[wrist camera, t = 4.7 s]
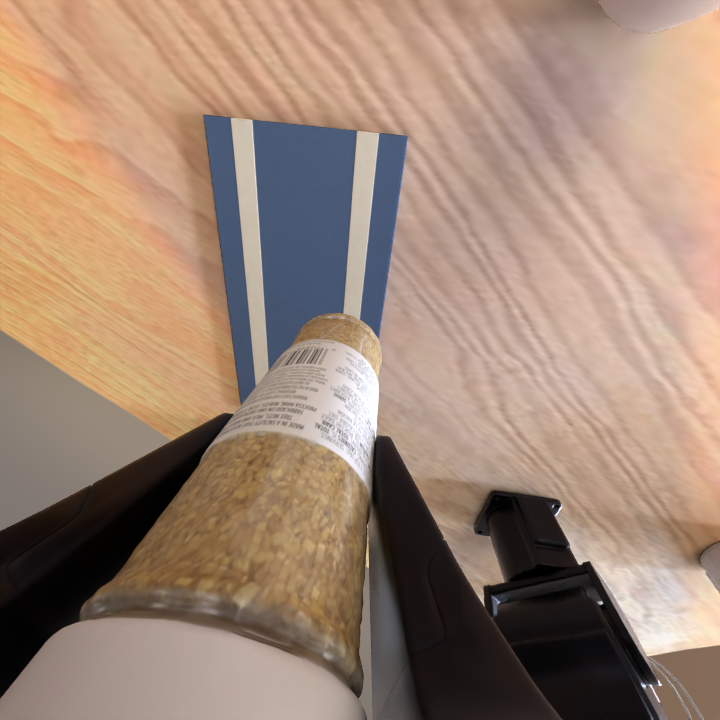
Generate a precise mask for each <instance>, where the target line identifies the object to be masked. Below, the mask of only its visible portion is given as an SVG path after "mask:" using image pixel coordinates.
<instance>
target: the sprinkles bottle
mask: <svg viewBox="0 0 720 720" xmlns="http://www.w3.org/2000/svg"><path fill="white" fill-rule="evenodd" d="M381 363H382V353H381V346H380V343H379V340H378V338H377V336H376V335H375V333H374V332H373V330H372V329H371V328H370V327H369V326H368V325H366V324H365V323H364V322H363V321H361V320H359V319H357V318H355V317H353V316H349V315H347V314H342V313H328V314H324V315H322V316H317V317H315V318H313V319H311V320H310V321H309V322H307V323H306V324H305V325H304V326H303V327H302V328H301V329H300V331H299V333H298V334H297V336H296V337H295V340H294V342H293V344H292V345H291V347H290V348H289V349H287V350H286V351H285V352H284V353H283V354H282V355H281V356H280V357H279V358H278V360H277V361H276V362H275V363H274V365H273V366H272V367H271V368H270V370H269V371H268V372H267V374H266V375H265V376H264V377H263V379H262V380H261V381H260V382H259V384H258V385H257V386H256V387H255V389H254V390H253V391H252V392H251V394H250V395H249V396H248V397H247V399H246V400H245V401H244V402H243V404H242V405H241V406H240V408H239V409H238V410H237V411H236V413H235V414H234V415H233V417H232V418H231V419H230V420H229V422H228V423H227V424H226V426H225V427H224V428H223V429H222V431H221V432H220V433H219V435H218V436H217V437H216V438H215V440H214V441H213V442H212V443H211V445H210V446H209V447H208V449H207V450H206V451H205V453H204V454H203V456H202V458H201V460H200V464H199V466H198V467H197V468H196V470H195V471H194V472H193V473H192V475H191V476H190V478H189V479H188V480H187V481H186V482H185V484H184V485H183V486H182V488H181V489H180V491H179V492H178V494H177V495H176V496H175V498H174V499H173V500H172V502H171V503H170V504H169V505H168V507H167V508H166V509H165V511H164V512H163V513H162V514H161V516H160V517H159V518H158V519H157V521H156V523H155V524H154V526H153V527H152V528H151V529H150V530H149V532H148V533H147V535H146V536H145V537H144V539H143V540H142V541H141V542H140V543H139V545H138V546H137V547H136V549H135V550H134V551H133V553H132V555H131V557H130V558H129V560H128V561H127V562H126V564H125V565H124V567H123V568H122V569H121V570H120V571H119V572H118V574H117V575H116V576H115V577H114V579H113V580H112V581H110V582H109V583H107V584H105V585H104V586H102V587H101V588H100V589H99V590H98V591H97V592H96V593H95V594H94V595H93V597H91V598H90V599H89V600H87V601H86V602H85V603H84V605H83V606H82V608H81V611H80V619H79V622H77V623H74V624H72V625H69V626H67V627H64V628H62V629H61V630H59V631H58V632H57V633H55V634H54V635H53V636H52V637H51V638H49V639H48V640H47V641H46V643H45V644H44V645H43V646H42V648H41V649H40V650H39V651H38V653H37V654H36V655H35V656H34V658H33V659H32V660H31V661H30V663H29V664H28V665H27V666H26V668H25V669H24V670H23V671H22V672H21V674H20V675H19V676H18V677H17V679H16V680H15V681H14V682H13V684H12V685H11V686H10V687H9V689H8V690H7V691H6V692H5V694H4V695H3V696H2V697H1V699H0V720H367V717H366V713H365V711H364V709H363V707H362V705H361V703H360V701H359V699H358V698H359V697H360V695H361V693H362V688H363V678H364V674H363V670H362V665H361V660H360V656H359V647H360V624H361V621H362V608H363V585H364V579H365V565H366V548H367V524H368V521H369V518H370V515H371V506H372V492H373V474H374V457H375V441H376V425H377V412H378V398H379V387H378V376H379V370H380V367H381Z"/></svg>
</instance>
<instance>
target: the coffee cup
mask: <svg viewBox="0 0 720 720" xmlns="http://www.w3.org/2000/svg"><path fill="white" fill-rule="evenodd" d="M700 563H701V565H702V566H703V568H704V569H705V570H706V575H707V576H708V578H709V579H710V580H711V582H712V583H713V585H714V586H715V587H716V589H717V590H718V591H719V593H720V542H718V543H716V544H714V545H712V546H710V547H709V548H708V549H706V550H705V551H704V552H703V554H702V555H701V557H700Z"/></svg>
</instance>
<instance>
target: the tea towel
mask: <svg viewBox="0 0 720 720" xmlns="http://www.w3.org/2000/svg"><path fill="white" fill-rule="evenodd" d="M204 123H205V130H206V138H207V146H208V154H209V161H210V169H211V177H212V185H213V192H214V200H215V208H216V216H217V223H218V231H219V239H220V247H221V254H222V262H223V270H224V278H225V285H226V293H227V301H228V309H229V316H230V324H231V332H232V340H233V347H234V355H235V363H236V371H237V378H238V386H239V394H240V402H241V405H242V404H243V402H244V401H245V400H246V399H247V397H248V396H249V395H250V394H251V392H252V391H253V390H254V389H255V387H256V386H257V385H258V384H259V382H260V381H261V380H262V379H263V377H264V376H265V375H266V374H267V372H268V371H269V370H270V368H271V367H272V366H273V365H274V363H275V362H276V361H277V360H278V358H279V357H280V356H281V355H282V354H283V353H284V352H285V351H286V350H287V349H289V348H290V347H291V345H292V344H293V342H294V340H295V337H296V336H297V334H298V333H299V331H300V329H301V328H302V327H303V326H304V325H305V324H306V323H307V322H309V321H310V320H311V319H313V318H315V317H317V316H322V315H324V314H328V313H342V314H347V315H349V316H353V317H355V318H357V319H359V320H361V321H363V322H364V323H365V324H366V325H368V326H369V327H370V328H371V329H372V330H373V332H374V333H375V335H376V336H377V338H378V340H379V333H380V326H381V319H382V312H383V305H384V299H385V292H386V285H387V278H388V271H389V264H390V257H391V250H392V243H393V236H394V229H395V222H396V215H397V208H398V201H399V194H400V187H401V180H402V173H403V166H404V159H405V152H406V146H407V139H408V136H402V135H393V134H383V133H374V132H365V131H355V130H345V129H335V128H326V127H316V126H307V125H297V124H288V123H278V122H268V121H259V120H250V119H240V118H230V117H220V116H211V115H204Z"/></svg>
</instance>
